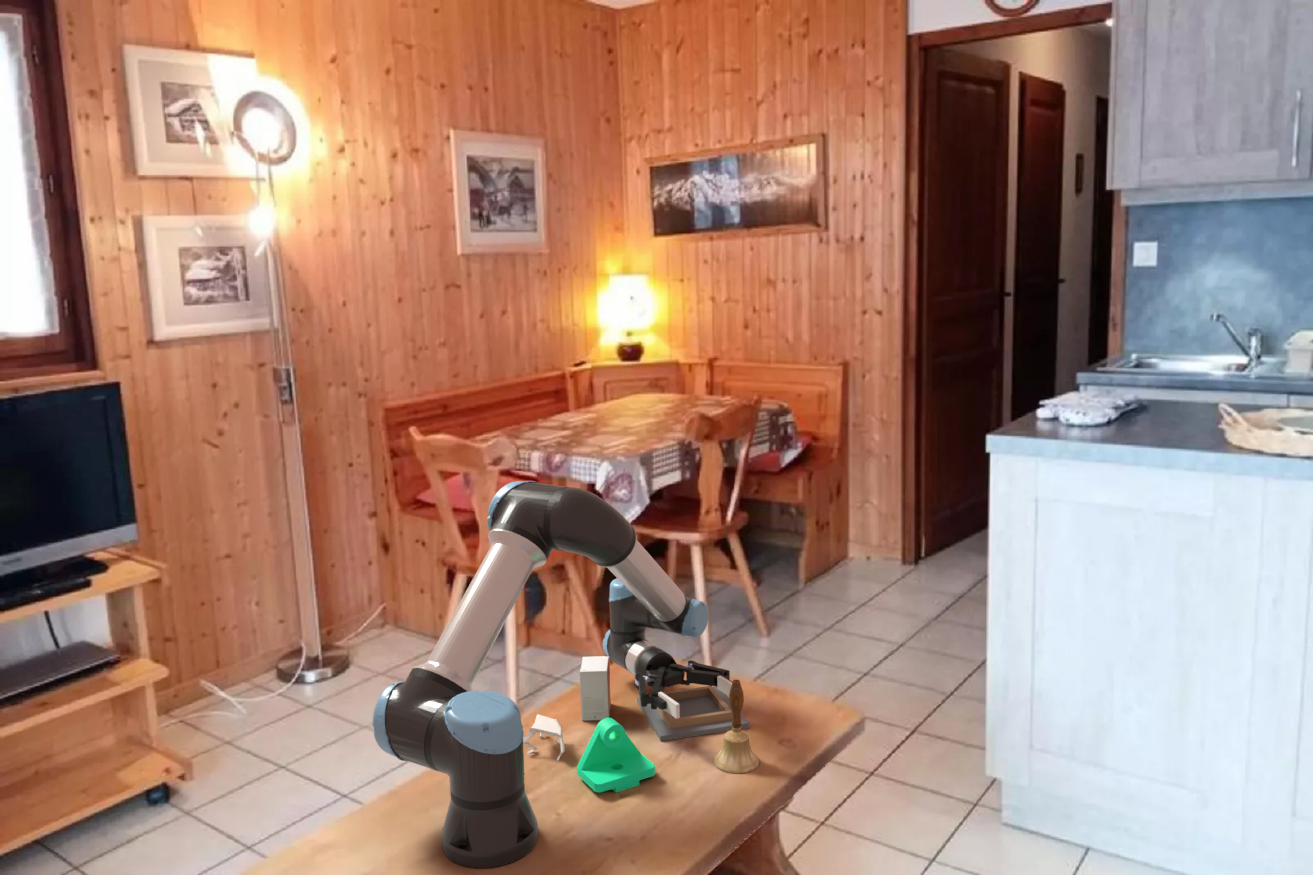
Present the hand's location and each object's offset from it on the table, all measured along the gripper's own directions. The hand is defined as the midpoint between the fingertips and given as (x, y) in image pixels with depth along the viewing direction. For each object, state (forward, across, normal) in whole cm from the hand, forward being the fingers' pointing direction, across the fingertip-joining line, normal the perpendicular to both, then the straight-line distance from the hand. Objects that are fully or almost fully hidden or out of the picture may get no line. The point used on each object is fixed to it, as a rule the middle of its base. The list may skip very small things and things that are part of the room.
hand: (708, 702), depth 195 cm
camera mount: (+3, +21, -8) cm, 23 cm away
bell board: (-12, -3, -8) cm, 14 cm away
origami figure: (-14, +27, -8) cm, 32 cm away
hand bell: (+9, 0, -8) cm, 12 cm away
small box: (-23, +12, -8) cm, 27 cm away
